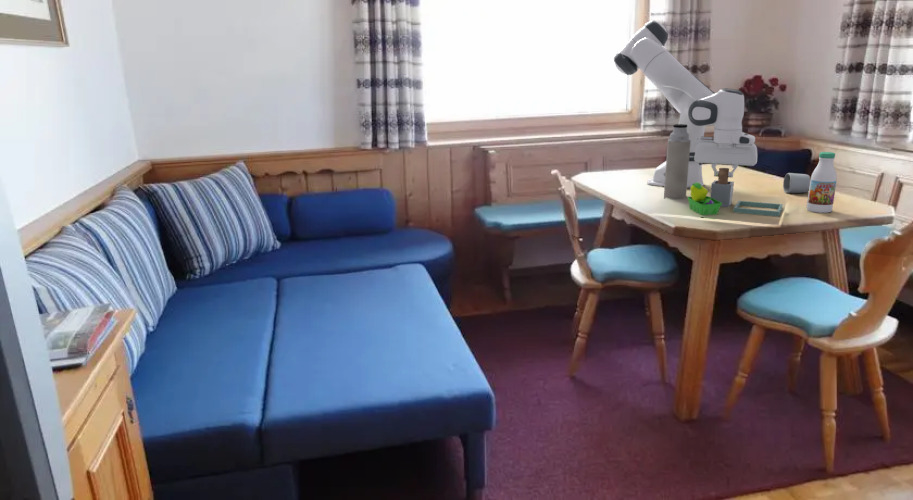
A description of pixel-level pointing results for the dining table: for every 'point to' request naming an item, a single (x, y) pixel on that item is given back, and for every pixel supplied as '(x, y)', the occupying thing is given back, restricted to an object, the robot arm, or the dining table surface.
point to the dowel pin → (723, 176)
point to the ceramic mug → (796, 183)
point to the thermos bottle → (677, 163)
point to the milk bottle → (822, 184)
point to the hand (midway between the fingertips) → (723, 176)
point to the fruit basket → (702, 201)
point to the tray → (756, 211)
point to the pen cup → (722, 193)
